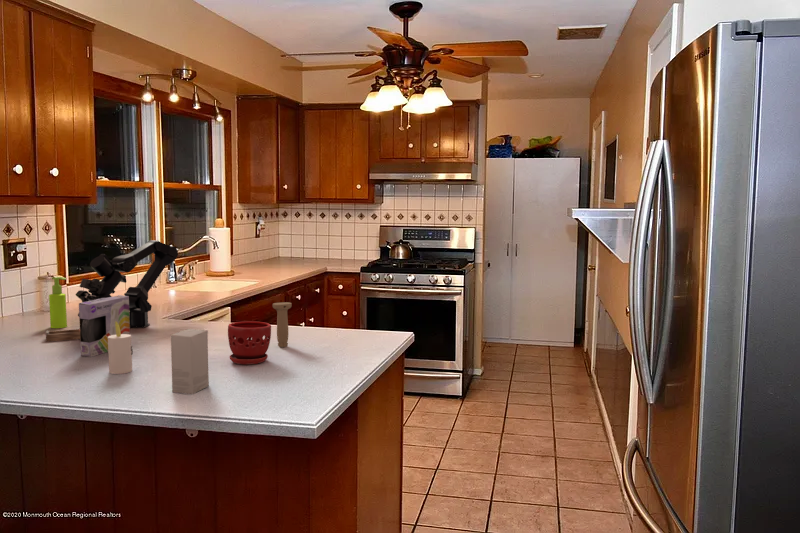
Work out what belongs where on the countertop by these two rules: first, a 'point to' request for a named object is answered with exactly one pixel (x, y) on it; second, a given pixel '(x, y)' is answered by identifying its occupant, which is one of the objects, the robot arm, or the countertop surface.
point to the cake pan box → (102, 323)
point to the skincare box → (189, 361)
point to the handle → (282, 322)
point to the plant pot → (249, 342)
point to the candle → (120, 352)
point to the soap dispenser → (57, 305)
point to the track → (62, 335)
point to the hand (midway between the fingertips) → (81, 317)
